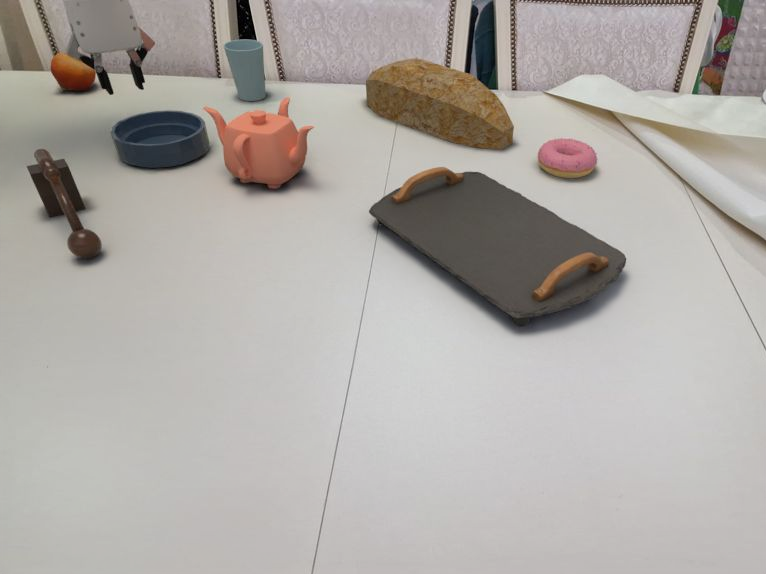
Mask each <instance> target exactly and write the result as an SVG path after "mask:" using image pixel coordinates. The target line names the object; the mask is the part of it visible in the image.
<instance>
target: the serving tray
mask: <svg viewBox="0 0 766 574" xmlns="http://www.w3.org/2000/svg"><path fill="white" fill-rule="evenodd" d="M368 214H370V215H371V216H372V217H373V218H374V219H376V222H377V224H378V225H380V226H386V228H388V229H390V230H391V231H392V232H394V233H395V234H397V235H398V236H400V238H401V239H403V240H404V241H406V242H408V243H410V244H411V246H413V247H415V248H416V249H417V250H418V251H419V252H421V253H423V254H424V255H425V256H427V257H428V258H430V259H431V261H434V262H435V263H437V264H438V265H439V266H440V267H441V268H443V269H445V270H446V271H448V272H449V273H450V274H451V275H452V276H454V277H455V278H457V279H458V280H459V281H461V282H462V283H464V284H465V285H467V286H468V287H469V288H471V289H472V290H473V291H475V292H476V293H478V295H480V296H481V297H484V298H485V299H486V300H488V301H489V302H490V303H492V305H494V306H496V307H497V308H499V309H500V310H501V311H502V312H504V313H505V314H507V315H508V316H510V317H512V318H513V321H514V322H515V325H516V326H518V327H525V326H526V325H527V324H528V323H529V322H530V320H531V318H534V317H542V316H544V315H547V314H553V313H557V312H561V311H565V310H567V309H569V308H571V307H574V306H576V305H579V304H582V303H584V302H587V301H589V300H591V299H594V298H596V297H597V296H598V295H599V294H601V293H602V292H604V291H606V289H607V288H608V287H609V286H610V285H611V284H613V283H614V282H615V281H617V279H618V278H619V277H620V274H621V273H622V272H623V269H624V268H625V267H626V265H627V264H626V263H627V257H626V254H624V252H622V251H621V250H619V249H618V248H616V247H614V246H612V245H610V244H609V243H607V242H606V241H604V240H601V239H599V238H598V237H596V236H594V235H593V234H591V233H590V232H588V231H587V230H586V229H583V228H581V227H579V226H578V225H576V224H574V223H571V222H569V221H566V220H565V219H564V218H562V217H560V216H558V215H557V214H556V213H555V212H553V211H552V210H549V209H548V208H546V206H545V207H544V206H542V205H540V204H538V203H537V202H535V201H532V200H531V199H528V197H526V196H524V195H523V194H522V193H520V192H518V191H515V190H513V189H511V188H509V187H507V186H506V185H504V184H502V183H500V182H499V181H497V180H495V179H493V178H492V177H489V176H488V175H486V174H484V173H482V172H480V171H464V172H463V171H462V172H453V171H452V170H451V169H449V168H448V167H445V166H439V167H438V166H437V167H433V168H429V169H425V170H423V171H421V172H418V173H416V174H414V175H413V176H411V177H409V178H408V179H407V180H406V181H405V182H404V183H403V184H402V185H401V187H398V188H395V189H394V190H392V191H391V192H389V193H388V194H386V195H384V196H383V197H382V198H380V200H378V201H377V202H375V203H373V204H372V206H370V208H369V210H368Z"/></svg>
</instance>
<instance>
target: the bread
mask: <svg viewBox="0 0 766 574" xmlns="http://www.w3.org/2000/svg"><path fill="white" fill-rule="evenodd" d="M365 93H366V105H367V107H368V108H369V109H371V111H373V112H374V113H375V114H376V115H378V116H379V117H381V118H384V119H387V120H389V121H392V122H395V123H397V124H400V125H403V126H405V127H408V128H411V129H414V130H417V131H419V132H423V133H424V134H428V135H431V136H434V137H435V138H439V139H442V140H444V141H447V142H450V143H453V144H458V145H463V146H468V147H474V148H479V149H480V148H481V149H490V150H491V149H492V150H500V151H501V150H503V149H505V148H507V147H509V146H511V145H512V144H513V139H514V129H515V125H514V123H513V121H512V119H511V117H510V115H509V114H508V111H507V109H506V107H505V104H504V103H503V102H502V101H501V99H500V98H499V96H498V95H497V94H496V93H495V92H494V91H492V90H491V89H489V88H488V87H487V86H486V85H485V84H484V83H482V82H481V81H480V80H479V79H478V78H477V77H476V76H474V75H473V74H471V73H468V72H465V71H461V70H459V69H454V68H451V67H449V66H445V65H442V64H438V63H434V62H433V61H432V62H431V61H428V60H424V59H422V58H418V57H414V58H408V59H403V60H397V61H394V62H391V63H389V64H386V65H382V66H381V67H379V68H376V69H375V70H373V71H371V73H370V74H369V75H368V77H367V78H366V80H365Z"/></svg>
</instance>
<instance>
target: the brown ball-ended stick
mask: <svg viewBox="0 0 766 574" xmlns="http://www.w3.org/2000/svg"><path fill="white" fill-rule="evenodd" d="M33 155H34V159H35V160H36V164H38V165H39V167H40V169H41V171H42V173H43V175H44V177H45V178H46V179H47V180H48V181H49V182H50V184H51V186H52V188H53V190H54V193H55V195H56V197H57V199H58V201H59V203H60V205H61V208H62V210H63V212H64V214H63V215H64V216H65V219H66V220H67V222H68V225H69V227H70V229H71V231H72V232H71V233H70V234H69V235H68V237H67V243H66V244H67V248H68V250H69V251H70V253H71V254H72V255H74V256H75V257H77V258H79V259H86V260H87V259H92V258H95V257H96V256H98V255H99V253H100V252H101V250H102V245H103V244H102V239H101V238H100V237H99V235H98V234H97V233H95V232H94V231H92V230H90V229H87V228H84V226H83V223H82V222H81V220H80V218H79V215H78V213H77V211H75V209H74V207H73V205H72V202H71V200H70V198H69V196H68V194H67V192H66V190H65V188H64V185H63V183H62V181H61V179H60V177H61V174H60V172H59V170H58V168H57V166H56V164H55V162H54V159H53V156H52V155H51V153H50V152H49V151H48V150H47V149H44V148H37V149H36V150H35V151H34V153H33Z"/></svg>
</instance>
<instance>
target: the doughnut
mask: <svg viewBox="0 0 766 574" xmlns="http://www.w3.org/2000/svg"><path fill="white" fill-rule="evenodd" d="M536 157H537V160H538V164H539V166H540V167H541V169H542V170H543V171H545V172H546V173H548V174H550V175H552V176H555V177H559V178H563V179H577V178H583V177H585V176H587V175H589V174H591V172H593V171H594V169H595V167H596V165H597V163H598V156H597V153H596V151H595V150H594V148H593V146H590V145H589V144H588V143H585V142H584V141H580V140H577V139H573V138H562V137H561V138H554V139H551V140H548V141H547V142H544V143H543V144H542V145H541V146H540V148H539V149H538V151H537V156H536Z"/></svg>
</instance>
